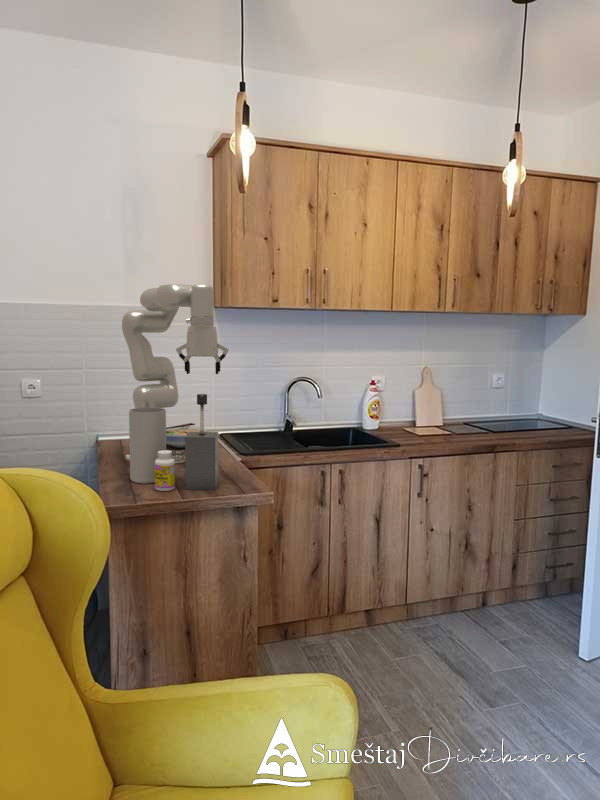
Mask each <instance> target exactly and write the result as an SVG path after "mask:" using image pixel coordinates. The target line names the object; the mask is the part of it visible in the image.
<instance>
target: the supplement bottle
mask: <svg viewBox="0 0 600 800" xmlns="http://www.w3.org/2000/svg"><path fill="white" fill-rule="evenodd" d="M172 455H173V451H172V450H168V449H166V450H162V451H158V459H156V460H155V483H154V489H155V490H156V491H160V492H170V491H172V490H174V489H175V487H176V460H175V459H174V458H172Z"/></svg>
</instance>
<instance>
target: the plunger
mask: <svg viewBox="0 0 600 800" xmlns="http://www.w3.org/2000/svg"><path fill="white" fill-rule="evenodd" d="M207 404H208V394H207V393H198V394H196V405H199V406H200V408H199V409H200V411H199V412H200V415H199V416H200V418H199V419H200V423H199V424H200V426H199V427H200V435H204V428H205V405H207Z"/></svg>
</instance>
